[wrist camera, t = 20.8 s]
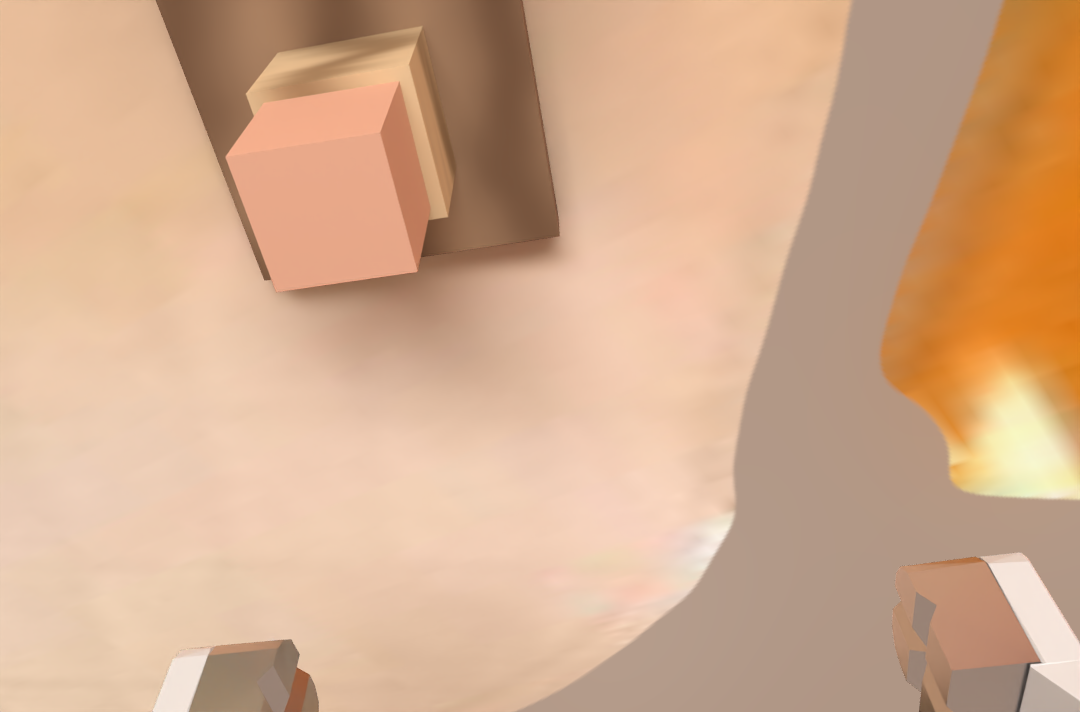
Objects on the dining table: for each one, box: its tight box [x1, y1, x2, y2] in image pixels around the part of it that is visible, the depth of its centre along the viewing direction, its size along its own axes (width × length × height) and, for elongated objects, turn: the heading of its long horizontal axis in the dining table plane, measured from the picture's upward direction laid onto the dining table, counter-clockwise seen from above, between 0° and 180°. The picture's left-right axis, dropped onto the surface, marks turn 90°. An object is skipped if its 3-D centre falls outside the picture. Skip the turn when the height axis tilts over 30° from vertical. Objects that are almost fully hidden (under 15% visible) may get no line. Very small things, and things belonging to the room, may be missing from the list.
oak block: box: [246, 26, 456, 220], centre depth 36 cm, size 6×6×5 cm
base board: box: [156, 0, 559, 280], centre depth 39 cm, size 14×14×2 cm
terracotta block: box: [226, 81, 431, 292], centre depth 32 cm, size 5×5×5 cm
